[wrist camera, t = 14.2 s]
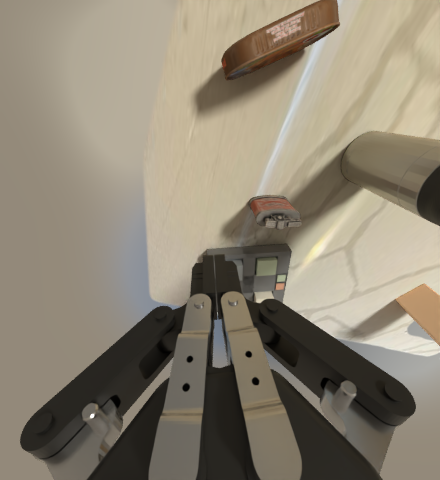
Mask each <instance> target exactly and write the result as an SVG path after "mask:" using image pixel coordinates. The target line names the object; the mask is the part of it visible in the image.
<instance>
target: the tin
mask: <svg viewBox="0 0 440 480" xmlns="http://www.w3.org/2000/svg"><path fill="white" fill-rule="evenodd" d="M339 25H340V22H339V16H338V4H337V0H320V1H318V2H315V3H313V4H311V5H309V6H307V7H304V8H302V9H300V10H298V11H296V12H294V13H292V14H289V15H287V16H285V17H283V18H281V19H279V20H277V21H275V22H273V23H271V24H269V25H267V26H265V27H263V28H261V29H259V30H257V31H255V32H253V33H251V34H249V35H247V36H245V37H244V38H242V39H240V40H239V41H237V42H236V43H235V44H233V45H232V46H231V47H229V48H228V49H227V50H226V51H225V53H224V55H223V57H222V60H221V61H222V66H223V69H224V73H225V76H226V77H225V79H226V80H232V79H236V78H239V77H241V76H244V75H246V74H249V73H251V72H253V71H255V70H257V69H260V68H262V67H264V66H266V65H269V64H271V63H273V62H275V61H277V60H280V59H282V58H284V57H286V56H289V55H291V54H293V53H295V52H297V51H299V50H301V49H303V48H305V47H307V46H309V45H311V44H313V43H315V42H316V41H318V40H320V39H321V38H323V37H325V36H326V35H328V34H329V33H331V32H332V31H334V30H335V29H336V28H338V27H339Z"/></svg>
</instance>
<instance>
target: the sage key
mask: <svg viewBox="0 0 440 480" xmlns="http://www.w3.org/2000/svg"><path fill="white" fill-rule="evenodd" d="M276 267H277V258H276V257H262V258H256V260H255V272H256V275H257V276H267V275H275V274H276Z"/></svg>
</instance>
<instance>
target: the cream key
mask: <svg viewBox="0 0 440 480" xmlns="http://www.w3.org/2000/svg"><path fill="white" fill-rule="evenodd" d="M265 299H274V297H273V294H272V291H266V292H254V302H257V303H261V302H262V301H263V300H265Z"/></svg>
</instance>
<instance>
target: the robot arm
mask: <svg viewBox="0 0 440 480" xmlns="http://www.w3.org/2000/svg"><path fill="white" fill-rule="evenodd" d="M341 170H342V173H343V175H344V177H345V178H346V179H348V180H349V181H351V182H353V183H355V184H357V185H359V186H361V187H363V188H365V189H367V190H369V191H371V192H373V193H375V194H377V195H378V196H380V197H382V198H384V199H386V200H388V201H390V202H392V203H394V204H396V205H398V206H400V207H402V208H404V209H406V210H408V211H410V212H412V213H414V214H416V215H418V216H420V217H422V218H424V219H426V220H428V221H430V222H432V223H434V224H436V225H439V226H440V140H436V139H429V138H422V137H415V136H407V135H400V134H394V133H387V132H380V131H371V132H367V133H365V134H363V135H361V136H359V137H358V138H356V139H355V140H354V141H353V142H352V143H351V144H350V145H349V147H348V148H347V149H346V151H345V153H344V155H343V158H342V163H341ZM214 259H215V273H214ZM215 275H216V289H215ZM216 290H217V305H218V318H219V319H222V331H223V337H224V343H225V349H226V356H227V362H228V366H225V367H223V368H215V367H213V339H214V320H217V305H216ZM264 349H265V350H266V351H267V352H268V353H270V354H271V355H272V356H273V357H274V358H275V359H276V360H277V361H278V362H280V363H281V364H282V365H283V366H284V367H285V368H286V369H287V370H289V371H290V372H291V373H292V374H293V375H294V376H295V377H296V378H298V379H299V380H300V381H301V382H302V383H303V384H304V385H306V386H307V387H308V388H309V389H310V390H311V391H312V392H313V393H314V394H316V395H317V396H318V397H319V398H320V406H321V409H322V411H323V413H324V415H325V416H326V418H327V419H328V420H329V421H330V422H331V423H332V424H331V423H330V422H329V421H328V420H327V419H326V418H324V416H323V415H321V413H320V412H319V411H318V410H317V409H315V407H313V406H312V405H311V404H310V403H309V402H308V401H307V400H306V399H305V398H304V397H303V396H302V395H301V394H300V393H299V392H298V391H297V390H296V389H295V388H294V387H293V386H292V385H291V384H290V383H289V382H288V381H287V380H286V379H285V378H284V377H283V376H282V375H280V374H279V373H278V372H276V371H274V370H272V369H270V367H269V364H268V360H267V357H266V354H265V351H264ZM173 357H174V359H173V363H172V368H171V373H170V377H169V378H168V379H166V380H165V381H164V382H163V383H162V384H161V385H160V386H159V387H158V388H157V389H156V390H155V392H154V393H153V394H152V395H151V397H150V398H149V399H148V401H147V402H146V403H145V404H144V406H143V407H142V409H141V410H140V411H139V412H138V414H137V415H136V416H135V418H134V419H133V420H132V421H131V423H130V424H129V425H128V427H127V428H126V429H125V431H124V432H123V433H122V434H121V436H120V437H119V438H118V436H119V435H120V432H121V429H122V426H123V415H124V414H125V413H126V412H127V410H129V408H130V407H131V406H132V405H133V404H134V403H135V401H136V400H137V399H138V398H139V397H140V395H141V394H142V393H143V392H144V391H145V390H146V388H147V387H148V386H149V385H150V384H151V383H152V381H153V380H154V379H155V378H156V377H157V376H158V374H159V373H160V372H161V371H162V370H163V369H164V367H165V366H166V365H167V364H168V363H169V362H170V360H171V359H172V358H173ZM415 409H416V405H415V402H414V398H413V396H412V395H411V393H410V392H409V391H408V389H407V388H406V387H405V386H404V385H403V384H402V383H400V382H399V381H398V380H396V379H395V378H393V377H392V376H390V375H389V374H387V373H386V372H384V371H383V370H381V369H380V368H378V367H377V366H375V365H374V364H372V363H371V362H369V361H368V360H366V359H365V358H363V357H362V356H361V355H359V354H358V353H356V352H355V351H353V350H352V349H350V348H349V347H347V346H345V345H344V344H343V343H341V342H340V341H338V340H337V339H335V338H334V337H332V336H331V335H329V334H328V333H326V332H325V331H323V330H322V329H320V328H319V327H317V326H316V325H314V324H313V323H311V322H310V321H308V320H307V319H305V318H304V317H302V316H301V315H299V314H298V313H296V312H295V311H293V310H292V309H290V308H289V307H287V306H286V305H284V304H283V303H281V302H280V301H278V300H276V299H265V300H263V301H262V302H261V303H257V302H252V301H250V300H248V299H246V298H245V297H244V296H243V294H242V290H241V285H240V280H239V275H238V270H237V265H236V264H235V263H234V262H233V261H225V254H216V255H214V258H213V255H203V263H196V264H195V265H194V267H193V268H192V281H191V294H190V298H189V300H188V301H187V303H186V304H185V305H184V306H182V307H180V308H177V309H175V310H172V309H171V308H170V307H168V306H160V307H157V308H155V309H154V310H152V311H151V312H150V313H149V314H148V315H147V316H145V317H144V318H143V319H142V320H141V321H140V322H139V323H137V324H136V325H135V326H134V327H133V328H132V329H131V330H130V331H128V332H127V333H126V334H125V335H124V336H123V337H121V338H120V339H119V340H118V341H117V342H116V343H115V344H113V346H111V347H110V348H109V349H108V350H107V351H106V352H104V353H103V354H102V355H101V356H100V357H99V358H97V359H96V360H95V361H94V362H93V363H92V364H91V365H90V366H88V367H87V368H86V369H85V370H84V371H83V372H82V373H80V374H79V375H78V376H77V377H76V378H75V379H74V380H72V381H71V382H70V383H69V384H68V385H67V386H66V387H64V388H63V389H62V390H61V391H60V392H59V393H58V394H57V395H55V396H54V397H53V398H52V399H51V400H50V401H48V402H47V403H46V404H45V405H44V406H43V407H42V408H41V409H39V410H38V411H37V412H36V413H35V414H34V415H33V416H32V417H31V418H30V420H29V421H28V422H27V424H26V425H25V427H24V429H23V431H22V434H21V439H20V443H21V446H22V448H23V449H24V450H25V451H27V452H29V453H31V454H33V456H34V457H35V458H36V459H38V460H39V461H41V462H43V463H45V464H46V465H47V467H48V469H49V471H50V472H51V474H52V476H53V478H54V480H382V478H381V477H380V475H379V474H380V471H381V468H382V465H383V462H384V459H385V456H386V453H387V450H388V447H389V444H390V441H391V438H392V435H393V432H394V430H396V429H397V428H398V427H399V426H400V425H401V424H402V423H403V422H405V421H406V420H407V419H408V418H409V417H410V416H411V415H413V414H414V412H415ZM117 438H118V440H117V441H116V439H117ZM115 441H116V442H115ZM114 442H115V443H114ZM113 444H114V445H113Z"/></svg>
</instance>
